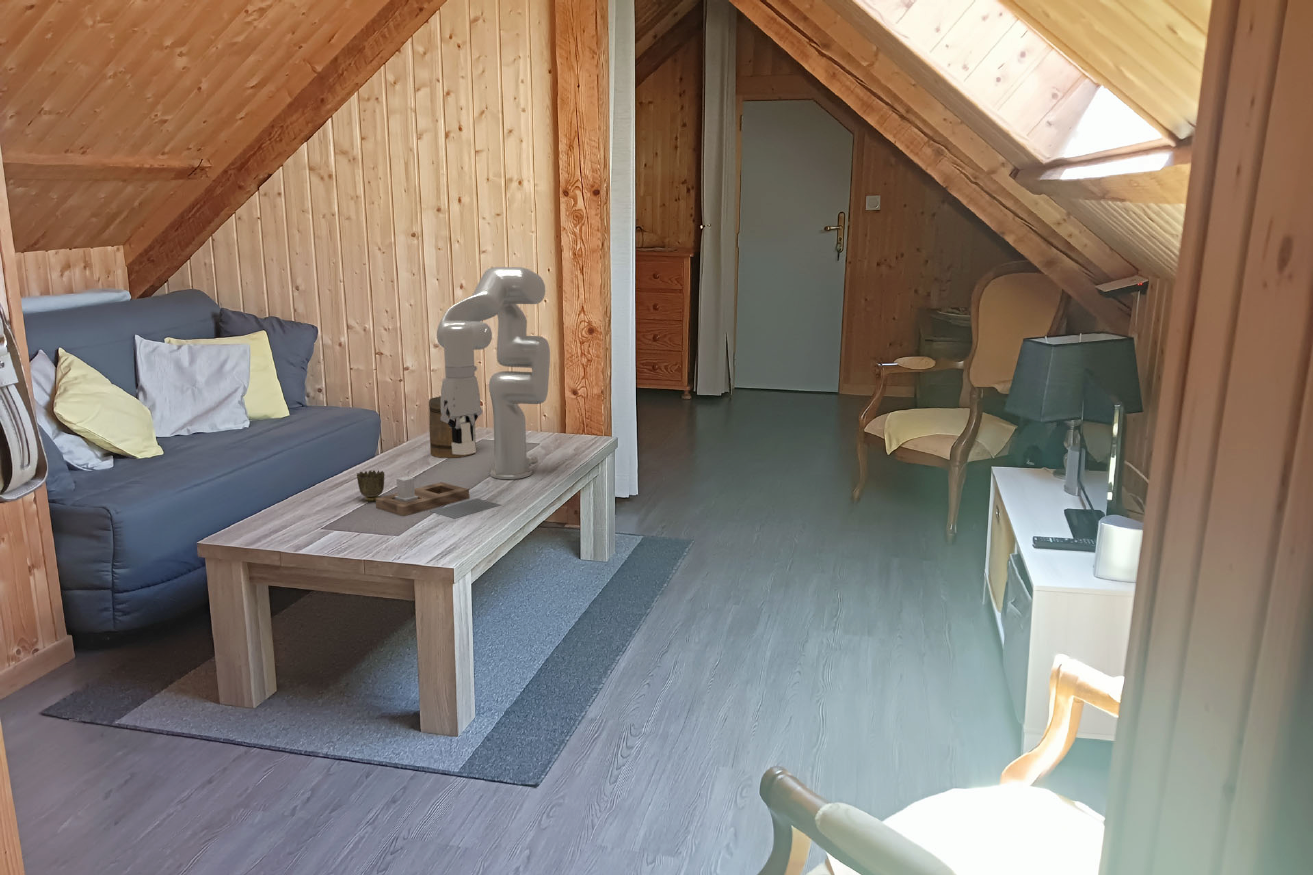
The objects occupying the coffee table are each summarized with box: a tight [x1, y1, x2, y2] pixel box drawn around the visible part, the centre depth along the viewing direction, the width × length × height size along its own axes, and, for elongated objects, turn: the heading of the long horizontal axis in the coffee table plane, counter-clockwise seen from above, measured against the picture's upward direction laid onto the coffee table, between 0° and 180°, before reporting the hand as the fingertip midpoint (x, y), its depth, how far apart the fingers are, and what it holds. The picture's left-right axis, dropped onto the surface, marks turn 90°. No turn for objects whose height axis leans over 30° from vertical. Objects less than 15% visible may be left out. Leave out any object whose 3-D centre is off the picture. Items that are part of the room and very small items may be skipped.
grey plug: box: [395, 475, 418, 503], centre depth 266 cm, size 4×5×8 cm
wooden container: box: [428, 395, 477, 459], centre depth 327 cm, size 15×15×22 cm
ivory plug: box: [451, 422, 477, 455], centre depth 261 cm, size 4×5×8 cm
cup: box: [356, 469, 385, 502], centre depth 273 cm, size 8×7×8 cm
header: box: [375, 481, 470, 517], centre depth 270 cm, size 22×12×3 cm, turn 140°
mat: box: [430, 497, 501, 520], centre depth 266 cm, size 16×10×1 cm, turn 140°
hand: (463, 440), depth 261 cm, fingers closed on ivory plug, 3 cm apart
